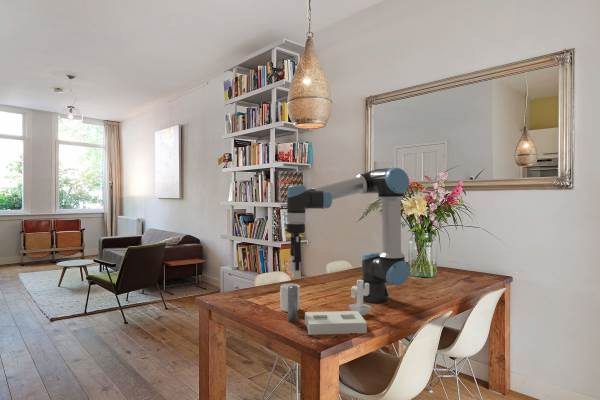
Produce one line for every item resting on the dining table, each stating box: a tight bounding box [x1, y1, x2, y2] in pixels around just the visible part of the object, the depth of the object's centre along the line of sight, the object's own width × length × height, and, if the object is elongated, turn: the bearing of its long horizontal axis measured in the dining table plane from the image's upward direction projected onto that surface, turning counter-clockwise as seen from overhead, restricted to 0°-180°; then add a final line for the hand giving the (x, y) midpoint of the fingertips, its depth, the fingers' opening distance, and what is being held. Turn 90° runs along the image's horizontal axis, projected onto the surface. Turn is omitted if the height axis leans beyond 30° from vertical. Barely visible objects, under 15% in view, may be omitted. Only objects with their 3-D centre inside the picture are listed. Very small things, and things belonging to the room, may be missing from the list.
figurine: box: [347, 279, 372, 317], centre depth 164 cm, size 7×9×15 cm
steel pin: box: [287, 286, 298, 323], centre depth 155 cm, size 4×4×14 cm
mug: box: [279, 283, 301, 313], centre depth 171 cm, size 9×12×11 cm
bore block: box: [304, 310, 368, 336], centre depth 147 cm, size 22×14×4 cm, turn 95°
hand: (295, 274), depth 154 cm, fingers open, 13 cm apart
